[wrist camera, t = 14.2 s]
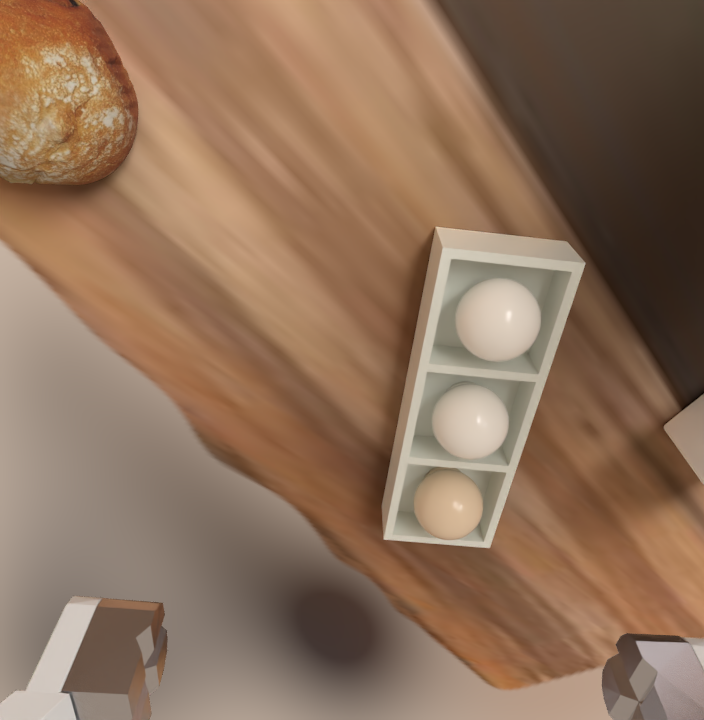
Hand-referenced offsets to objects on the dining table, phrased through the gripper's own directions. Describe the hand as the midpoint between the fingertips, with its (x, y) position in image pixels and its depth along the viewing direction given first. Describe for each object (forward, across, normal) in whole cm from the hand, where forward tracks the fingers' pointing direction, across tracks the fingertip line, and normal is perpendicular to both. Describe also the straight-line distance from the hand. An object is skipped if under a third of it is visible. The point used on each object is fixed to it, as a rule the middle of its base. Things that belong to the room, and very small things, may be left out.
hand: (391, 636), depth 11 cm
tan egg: (+28, -8, +22) cm, 36 cm away
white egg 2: (+28, -8, +14) cm, 32 cm away
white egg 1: (+28, -8, +7) cm, 30 cm away
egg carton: (+29, -8, +14) cm, 33 cm away
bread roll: (+29, +18, -4) cm, 34 cm away
